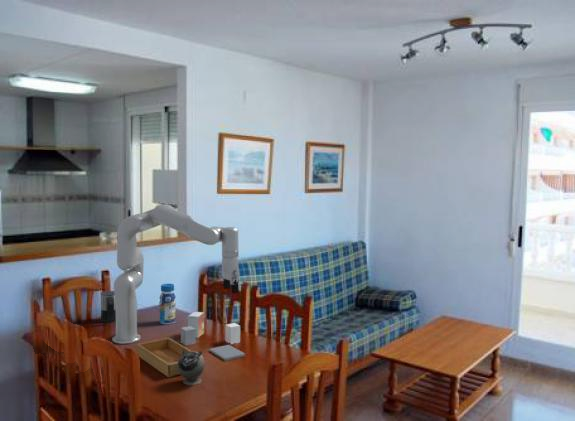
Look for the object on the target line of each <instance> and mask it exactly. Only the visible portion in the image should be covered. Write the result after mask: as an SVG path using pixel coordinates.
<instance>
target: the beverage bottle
mask: <svg viewBox="0 0 575 421" xmlns="http://www.w3.org/2000/svg"><path fill="white" fill-rule="evenodd" d="M160 291H161V293H160V295H159V323H160V324H161V325H171V324H174V323H176V303H177V302H176V294H175V293H174V291H175V284H173V283H162V284H161V285H160Z"/></svg>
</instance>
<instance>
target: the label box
mask: <svg viewBox="0 0 575 421" xmlns="http://www.w3.org/2000/svg"><path fill="white" fill-rule="evenodd" d="M225 343H228V344H229V343H230V344H229V345H235V344H239V343H241V325H239V324H238V323H235V322H233V323H228V324H227V323H226V324H225ZM234 343H235V344H234Z"/></svg>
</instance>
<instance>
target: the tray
mask: <svg viewBox="0 0 575 421" xmlns="http://www.w3.org/2000/svg"><path fill="white" fill-rule="evenodd" d="M184 349H185V350H186V351H187V352H188V351H192V350H191V349H190V348H188V347H186V346H185V345H184V344H182V343H179V342H177V341H176V340H174V339H173V338H171V337H165V338H160V339H155V340H151V341H146V342H141V343H137V344H136V353H137V352H138V354H139V356H138V357H139V358H140V359H141V360H143V361H145V362H146V363H148V364H149V365H150V366H152V367H153V368H154V369H156V370H157V371H158V372H160V373H161V374H163V375H164V376H166V377H167V378H171V377H175V376H178V375H180V373H179V371H178V368H177V364H178V360H179V358H180V357H181V356H182V355H183V350H184Z"/></svg>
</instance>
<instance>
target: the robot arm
mask: <svg viewBox="0 0 575 421" xmlns="http://www.w3.org/2000/svg"><path fill="white" fill-rule="evenodd" d="M161 225H162V226H164V227H167V228H170V229H173V230H175V231H177V232H179V233H182V234H183V235H185V236H187V237H188V238H190V239H193V240H194V241H197V242H199V243H201V244H204V245H208V246H214V245H216V244H218V243H221V257H222V259H221V277H222V280H223V281H222V282H223V283H222V284H223V286H222V287H223V288H222V289H223V290H230V288H231V294H239V284H240V283H239V282H240V273H239V272H240V271H239V270H240V269H239V260H238V259H239V229H238V228H237V227H234V226H233V227H232V226H231V227H229V226H228V227H221V226H211V227H208V226H205V225H203V224H200V223H198V222H197V221H195V220H194V219H193V218H192V217H191V215H189V214H187V213H184V212H181V211H179V210H176V209H175V208H174V207H173V206H172V205H170V204H169V203H164V204H159V205H156V206H155V207H154V208H151V209H149V210H146V211H143V212H140V213H135V214H133V215H130V216H127V217H126V218H124V219H123V220H122V221H121V222H120V224H119V226H118V228H117V244H116V245H117V246H116V249H117V250H116V264H117V267H118V268H119V269H120V270H121V271H123V273H121V274H119V275H118V276H117V277H116V278H115V280H114V283H113V291H114V293H115V307H116V321H115V335H113V337H112V340H111V341H112V342H113V343H115V344H119V345H120V344H121V345H124V344H125V345H126V344H132V343H136V342H138V341H140V340H141V335H140V334H139V333H138V320H137V319H138V307H137V306H138V303H137V302H138V300H137V294H136V289H138V288H139V287H140V286H141V285H142V284H143V281H144V264H145V262H144V254H143V252H142V251H141V250H140V249H139V248H138V247H137V245H138V242H137V241H138V240H137V234H138V233H143V232H145V231H148V230H151V229H153V228H155V227H159V226H161Z"/></svg>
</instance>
